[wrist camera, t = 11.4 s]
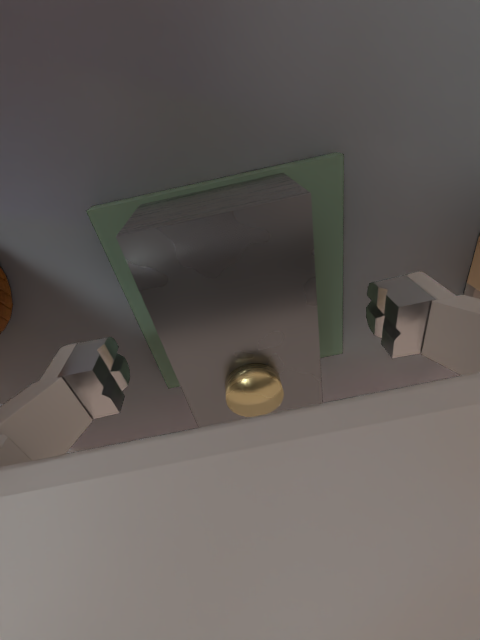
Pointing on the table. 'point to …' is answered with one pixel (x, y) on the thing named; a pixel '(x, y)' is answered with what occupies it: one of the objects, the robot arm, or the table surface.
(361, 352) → the table surface
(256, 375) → the lever cap
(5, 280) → the disposable coffee cup
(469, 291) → the plane body
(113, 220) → the felt pad
